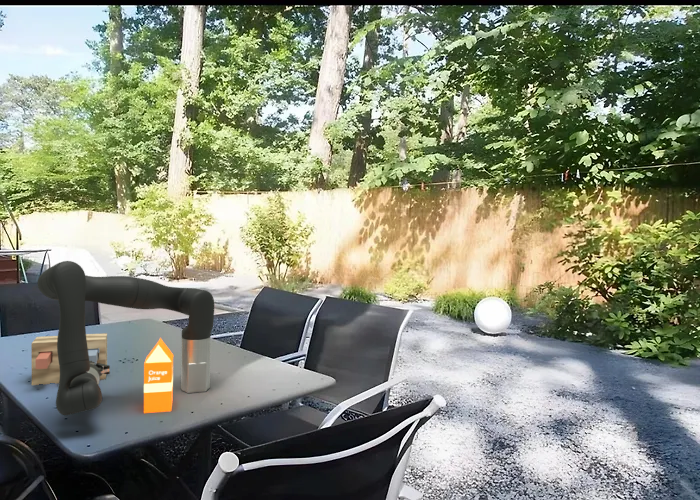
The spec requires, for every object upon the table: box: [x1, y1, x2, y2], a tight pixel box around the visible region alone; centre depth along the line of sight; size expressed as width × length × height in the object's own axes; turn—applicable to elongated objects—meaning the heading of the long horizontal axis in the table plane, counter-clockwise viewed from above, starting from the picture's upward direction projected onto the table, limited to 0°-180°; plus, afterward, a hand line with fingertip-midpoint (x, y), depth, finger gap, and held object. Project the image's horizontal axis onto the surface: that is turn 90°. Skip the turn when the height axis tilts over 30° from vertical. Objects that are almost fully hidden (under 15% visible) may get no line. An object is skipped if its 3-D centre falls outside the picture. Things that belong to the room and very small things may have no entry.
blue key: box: [88, 348, 99, 365], centre depth 173 cm, size 11×3×3 cm, turn 22°
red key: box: [36, 351, 52, 369], centre depth 167 cm, size 11×3×3 cm, turn 22°
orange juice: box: [143, 337, 175, 414], centre depth 152 cm, size 8×9×20 cm
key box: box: [30, 332, 108, 386], centre depth 177 cm, size 10×22×14 cm, turn 112°
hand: (89, 363), depth 164 cm, fingers closed
